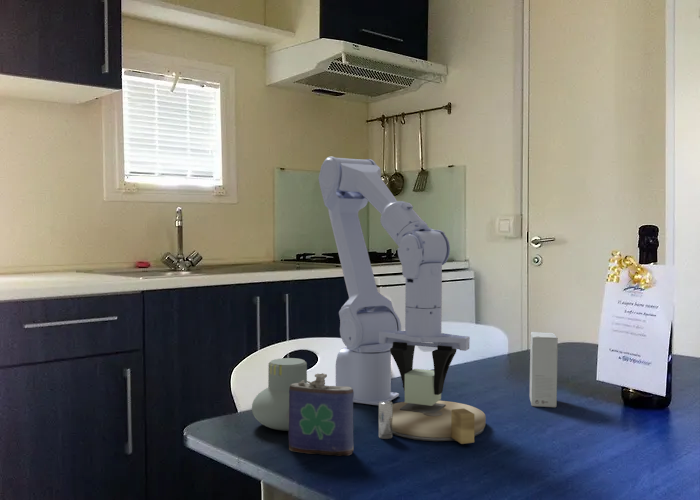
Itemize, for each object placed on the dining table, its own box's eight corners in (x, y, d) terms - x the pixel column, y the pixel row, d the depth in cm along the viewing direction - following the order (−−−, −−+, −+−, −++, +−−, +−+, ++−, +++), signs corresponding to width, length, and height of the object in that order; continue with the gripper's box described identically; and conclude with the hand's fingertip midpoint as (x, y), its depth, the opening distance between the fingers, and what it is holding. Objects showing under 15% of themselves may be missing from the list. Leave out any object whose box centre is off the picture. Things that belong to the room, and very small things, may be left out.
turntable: (362, 429, 99) (362, 402, 99) (403, 402, 114) (403, 379, 113) (471, 445, 92) (471, 416, 91) (499, 414, 106) (499, 390, 106)
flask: (355, 450, 91) (355, 373, 91) (349, 458, 88) (349, 377, 88) (292, 445, 94) (291, 369, 93) (284, 451, 91) (284, 373, 90)
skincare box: (557, 408, 113) (558, 337, 112) (531, 406, 114) (532, 336, 113) (553, 399, 119) (554, 332, 118) (529, 397, 119) (529, 331, 119)
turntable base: (361, 435, 98) (361, 401, 98) (403, 406, 113) (403, 377, 113) (464, 451, 91) (464, 414, 91) (494, 418, 106) (495, 387, 106)
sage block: (404, 402, 105) (404, 374, 105) (414, 395, 109) (414, 368, 109) (431, 405, 103) (431, 376, 103) (441, 399, 107) (441, 371, 107)
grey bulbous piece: (297, 413, 109) (297, 353, 109) (332, 424, 103) (332, 360, 103) (242, 427, 102) (242, 362, 101) (276, 439, 96) (276, 370, 96)
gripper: (371, 306, 105) (371, 392, 106) (460, 312, 99) (460, 402, 99) (388, 302, 111) (388, 382, 112) (473, 306, 105) (472, 392, 106)
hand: (423, 391), depth 106 cm, fingers closed on sage block, 4 cm apart
